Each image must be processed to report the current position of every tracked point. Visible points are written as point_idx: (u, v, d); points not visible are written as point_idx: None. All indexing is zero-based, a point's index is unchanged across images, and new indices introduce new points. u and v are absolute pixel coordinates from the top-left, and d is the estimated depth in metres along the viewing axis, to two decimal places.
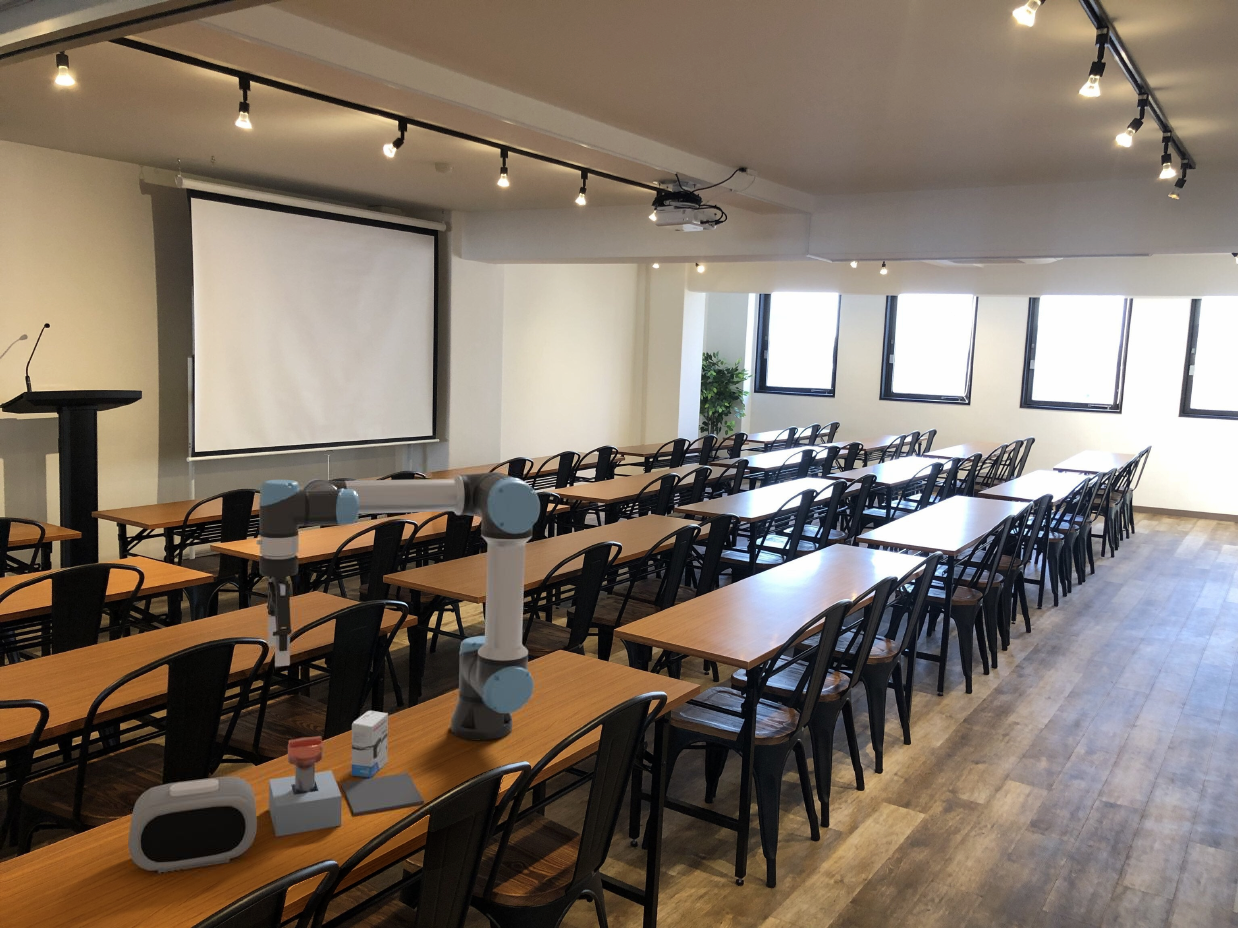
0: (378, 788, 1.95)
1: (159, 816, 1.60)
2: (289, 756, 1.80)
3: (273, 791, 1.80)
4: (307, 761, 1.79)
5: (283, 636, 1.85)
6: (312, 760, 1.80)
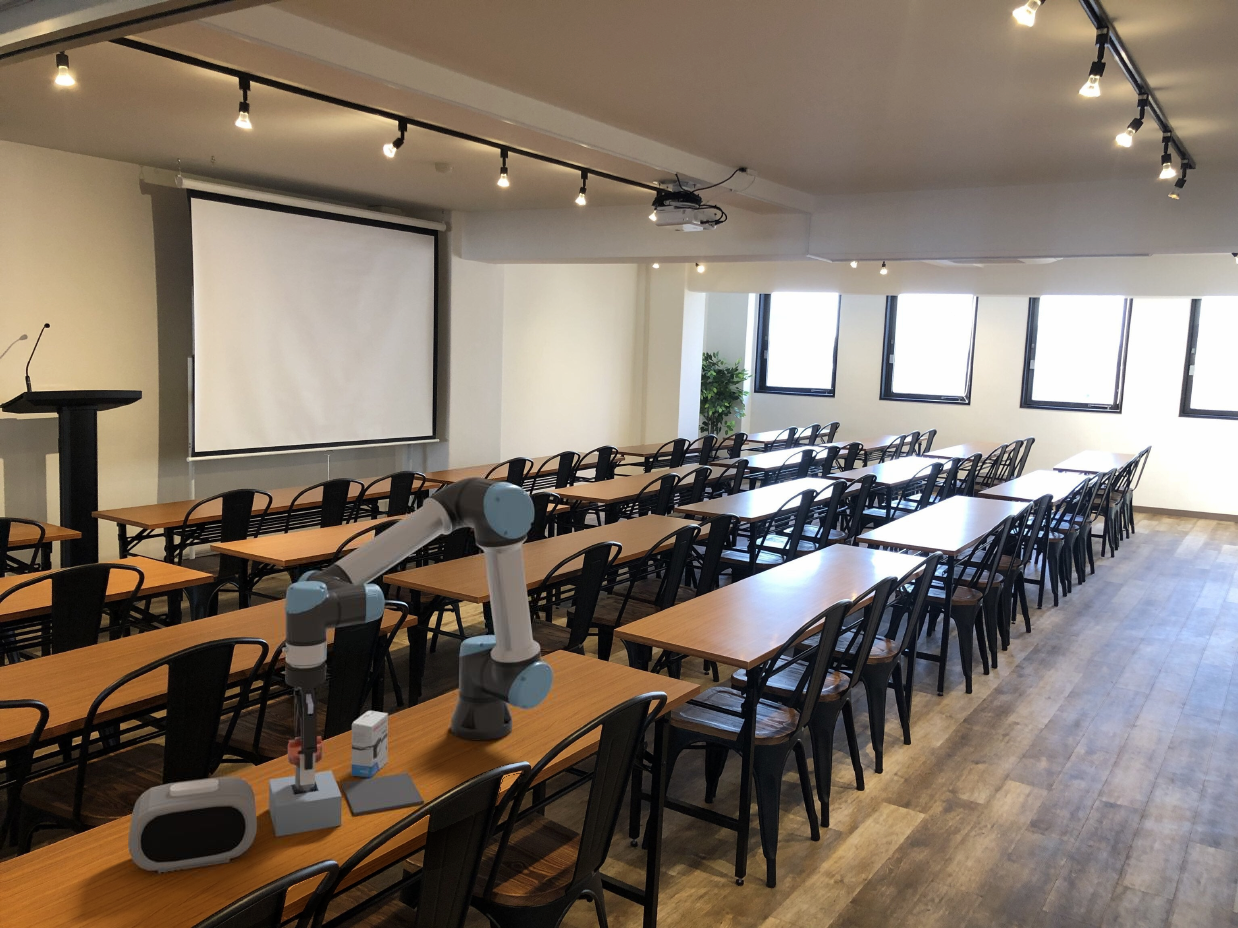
0: (378, 788, 1.95)
1: (159, 816, 1.60)
2: (289, 756, 1.80)
3: (273, 791, 1.80)
4: None
5: (308, 754, 1.77)
6: None
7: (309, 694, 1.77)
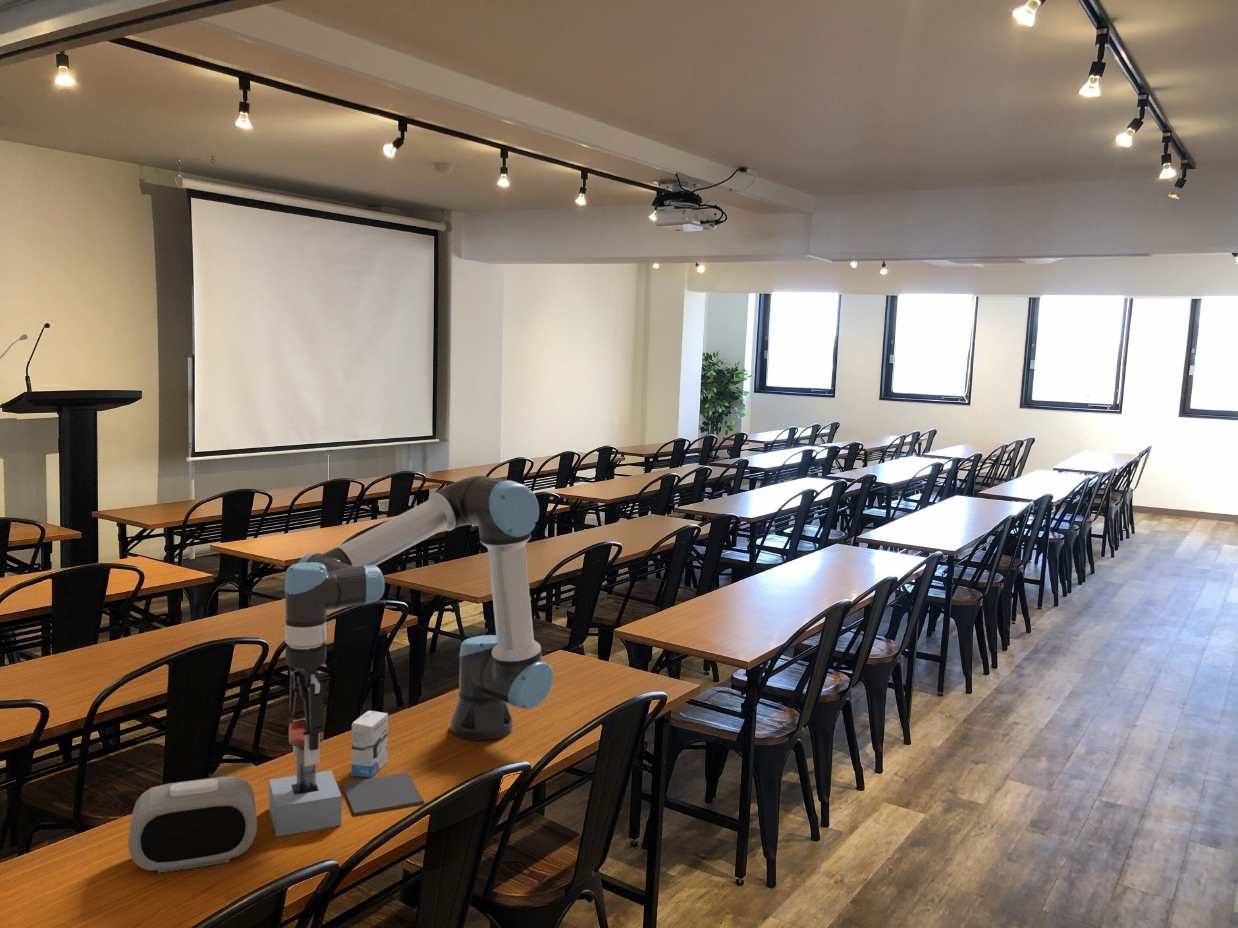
0: (378, 788, 1.95)
1: (159, 816, 1.60)
2: None
3: (273, 791, 1.80)
4: None
5: None
6: None
7: None
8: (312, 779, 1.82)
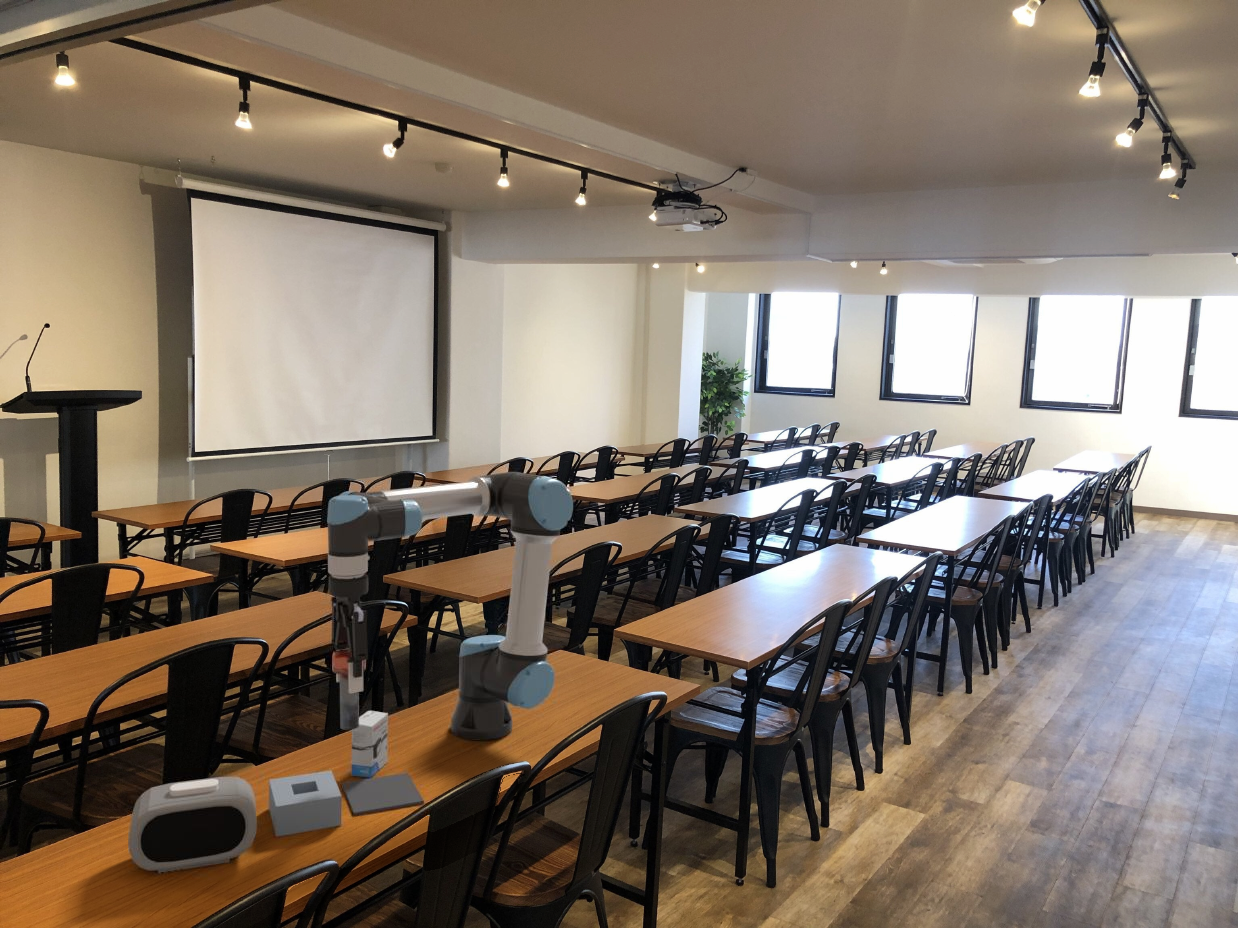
0: (378, 788, 1.95)
1: (159, 816, 1.60)
2: None
3: (273, 791, 1.80)
4: None
5: None
6: None
7: None
8: (355, 707, 1.86)
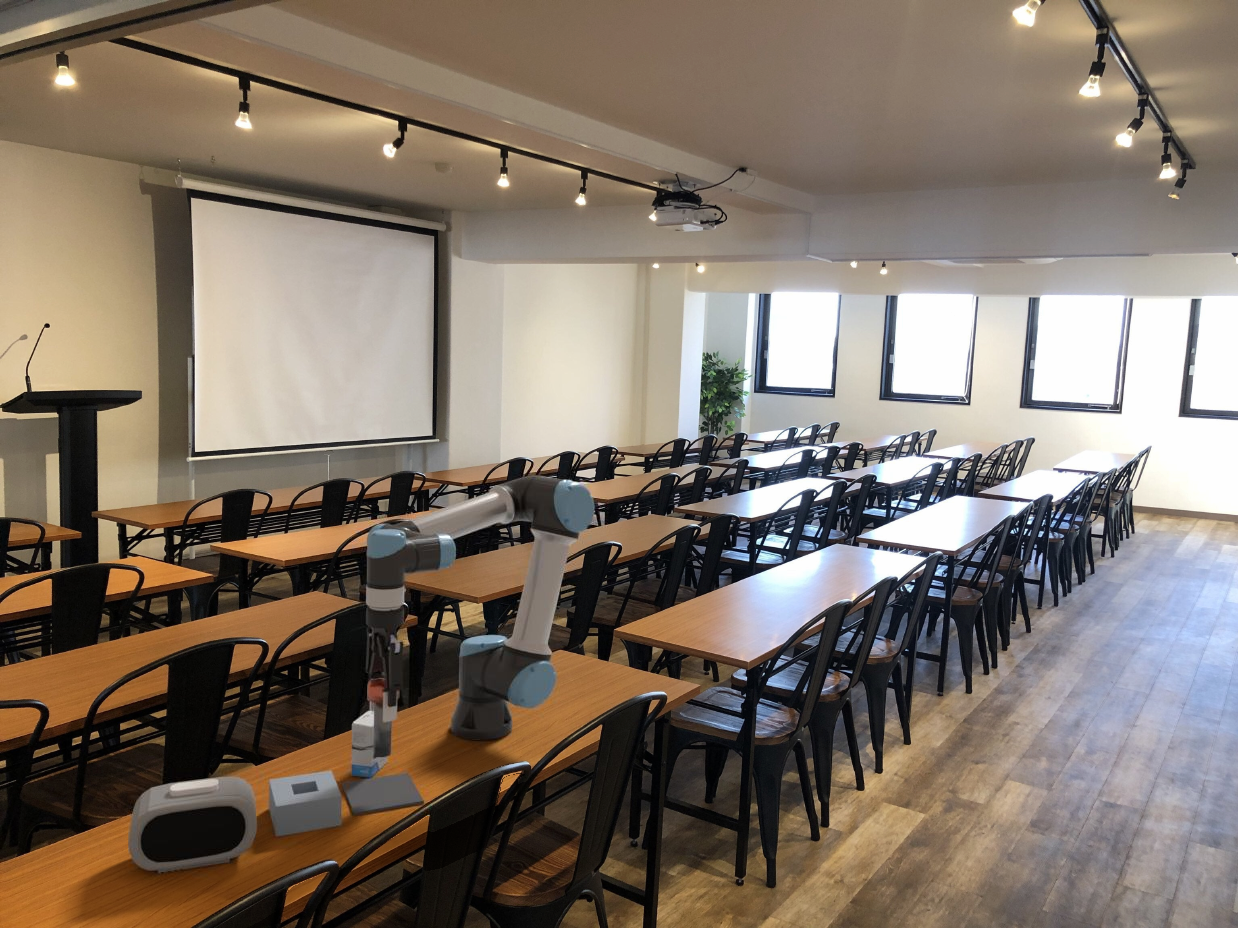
0: (378, 788, 1.95)
1: (159, 816, 1.60)
2: None
3: (273, 791, 1.80)
4: None
5: None
6: None
7: None
8: (388, 735, 1.91)
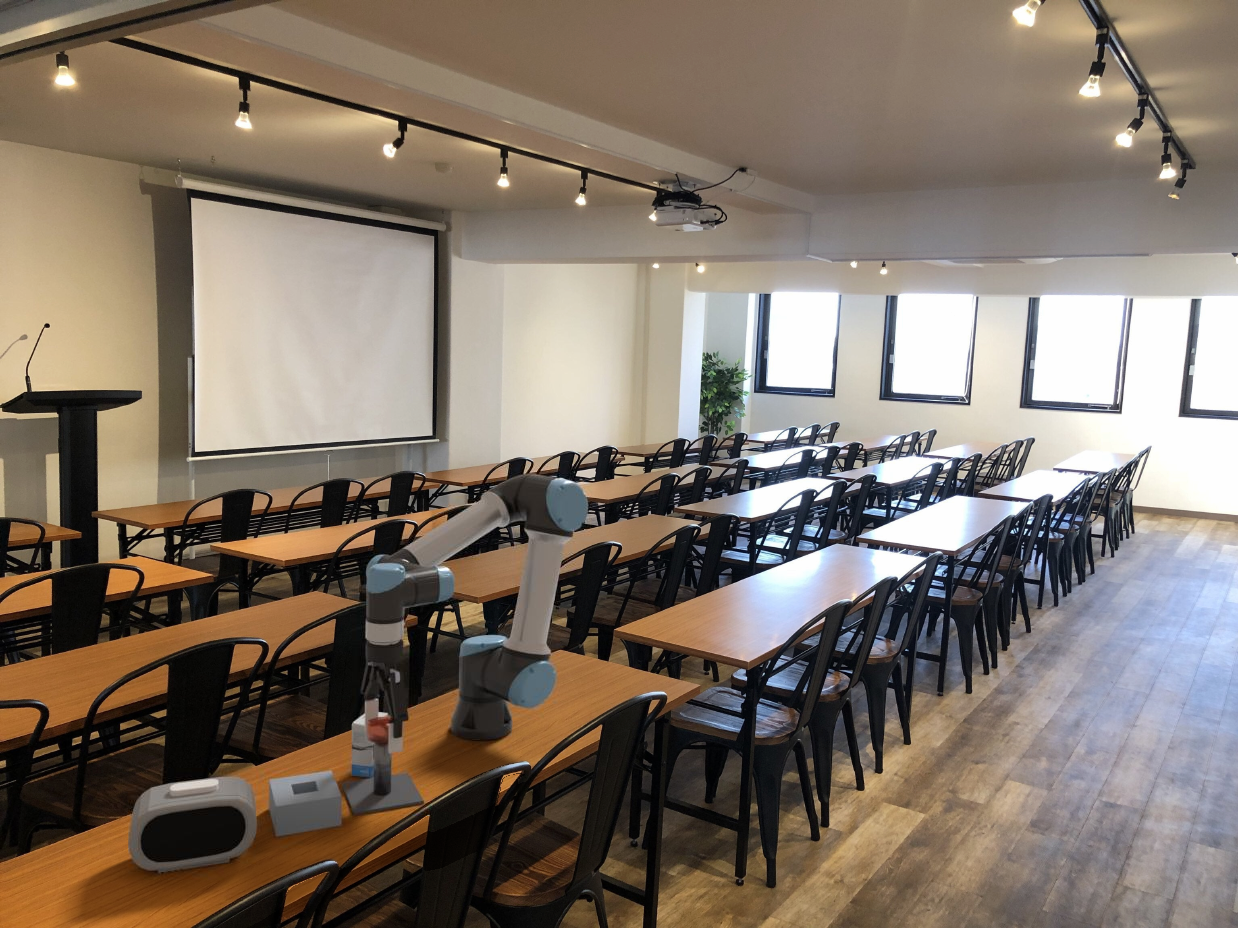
0: None
1: (159, 816, 1.60)
2: None
3: (273, 791, 1.80)
4: None
5: None
6: None
7: None
8: (388, 773, 1.93)
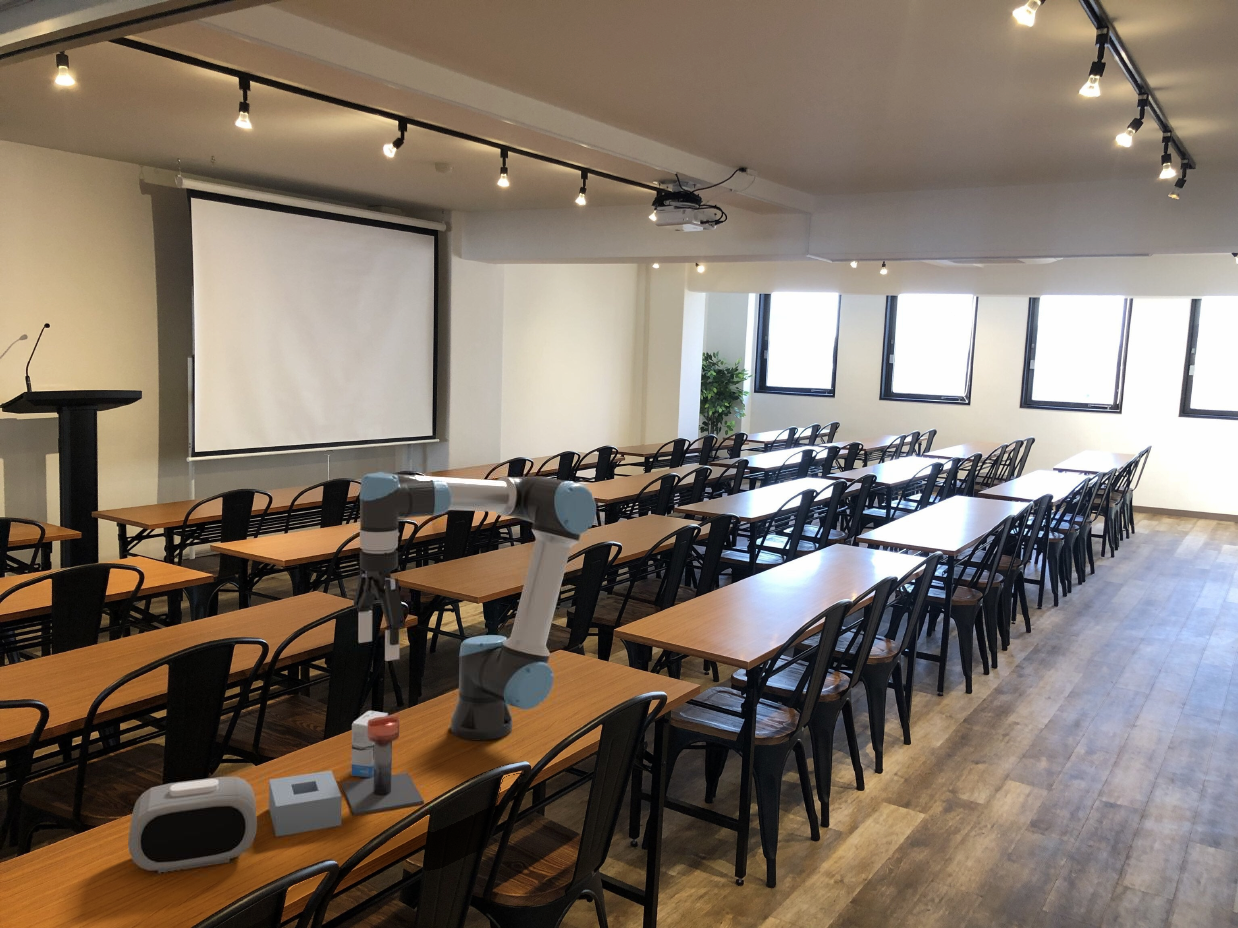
0: None
1: (159, 816, 1.60)
2: None
3: (273, 791, 1.80)
4: None
5: None
6: None
7: None
8: (388, 773, 1.93)
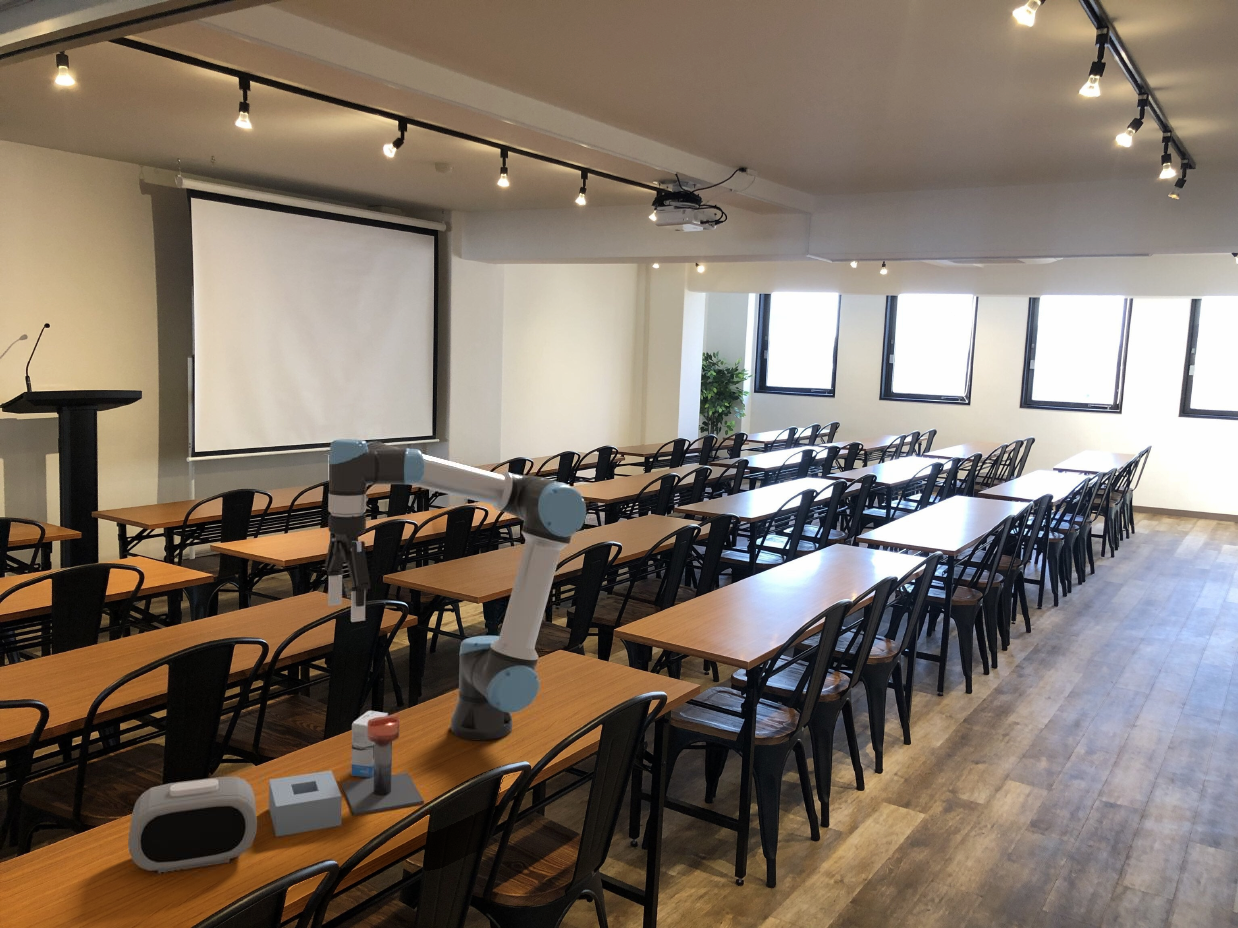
0: None
1: (159, 816, 1.60)
2: None
3: (273, 791, 1.80)
4: None
5: None
6: None
7: None
8: (388, 773, 1.93)
